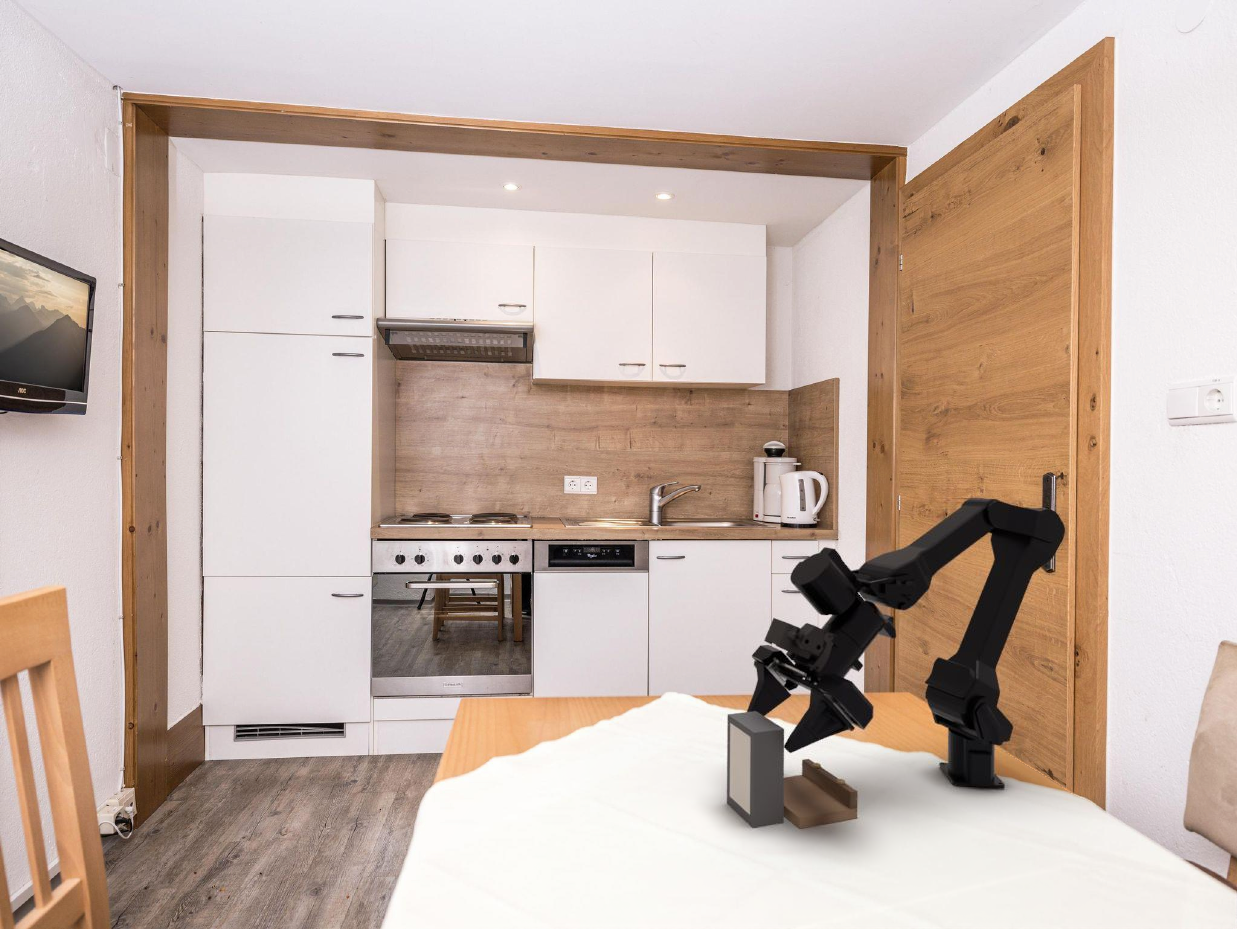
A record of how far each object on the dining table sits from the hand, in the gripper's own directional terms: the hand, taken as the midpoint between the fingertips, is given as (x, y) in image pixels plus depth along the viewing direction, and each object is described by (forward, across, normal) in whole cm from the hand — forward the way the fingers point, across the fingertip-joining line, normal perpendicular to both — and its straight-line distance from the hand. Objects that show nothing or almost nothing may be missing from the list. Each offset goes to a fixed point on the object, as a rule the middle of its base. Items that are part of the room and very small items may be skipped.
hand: (765, 735), depth 86 cm
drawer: (+2, 0, +10) cm, 11 cm away
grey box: (+7, 0, +6) cm, 9 cm away
